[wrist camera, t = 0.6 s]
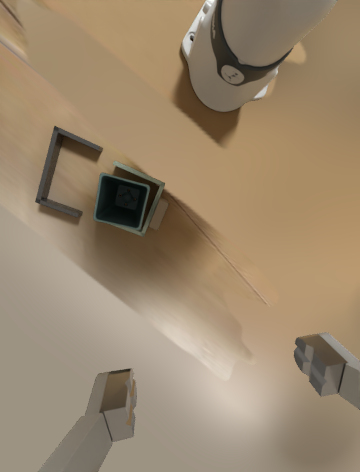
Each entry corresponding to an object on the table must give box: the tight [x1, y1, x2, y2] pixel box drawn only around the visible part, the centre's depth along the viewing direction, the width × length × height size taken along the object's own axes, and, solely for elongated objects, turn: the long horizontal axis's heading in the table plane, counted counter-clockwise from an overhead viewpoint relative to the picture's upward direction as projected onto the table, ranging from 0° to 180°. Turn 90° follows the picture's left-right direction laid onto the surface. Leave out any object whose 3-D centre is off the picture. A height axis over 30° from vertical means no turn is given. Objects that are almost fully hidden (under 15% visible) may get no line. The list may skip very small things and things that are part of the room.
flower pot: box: [93, 173, 150, 230], centre depth 39 cm, size 9×9×9 cm
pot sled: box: [107, 161, 169, 237], centre depth 41 cm, size 13×13×6 cm
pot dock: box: [35, 126, 103, 217], centre depth 40 cm, size 15×8×2 cm, turn 156°
